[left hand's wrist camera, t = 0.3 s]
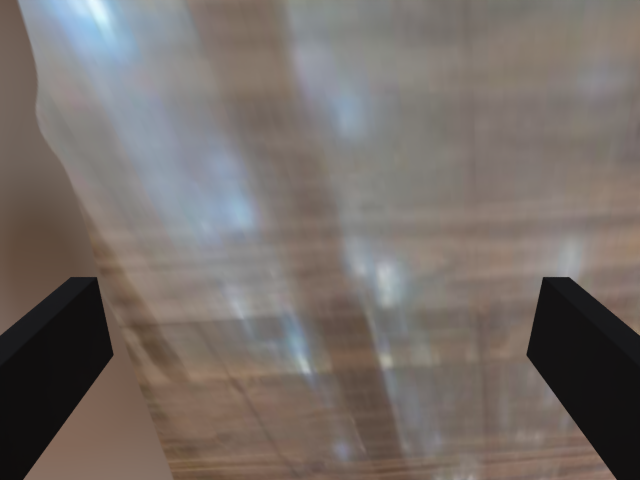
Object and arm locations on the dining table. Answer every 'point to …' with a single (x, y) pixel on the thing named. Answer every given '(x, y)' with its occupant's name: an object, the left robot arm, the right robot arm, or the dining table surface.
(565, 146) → the dining table surface
